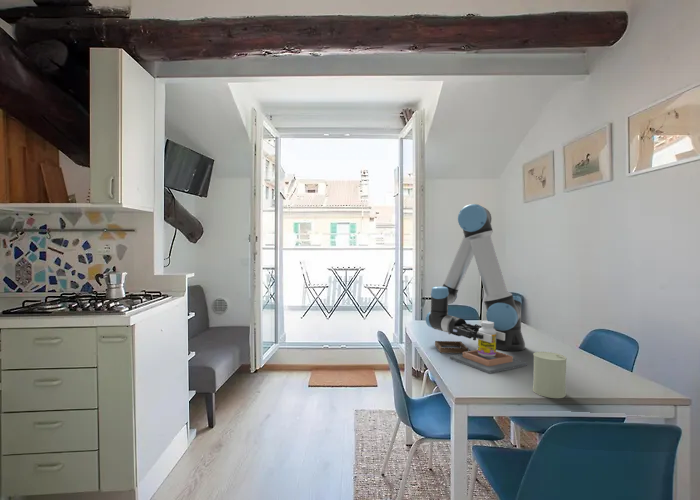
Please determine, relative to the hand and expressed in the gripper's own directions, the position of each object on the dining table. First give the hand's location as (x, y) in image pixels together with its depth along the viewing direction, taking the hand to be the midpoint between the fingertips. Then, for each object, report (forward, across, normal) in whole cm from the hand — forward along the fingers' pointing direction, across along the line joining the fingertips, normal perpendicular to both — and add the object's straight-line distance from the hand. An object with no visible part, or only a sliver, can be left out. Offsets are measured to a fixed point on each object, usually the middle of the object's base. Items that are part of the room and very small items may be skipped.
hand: (497, 337), depth 146 cm
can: (+26, +7, -11) cm, 29 cm away
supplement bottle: (-5, 0, -8) cm, 9 cm away
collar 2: (-5, 0, -10) cm, 12 cm away
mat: (-5, 0, -10) cm, 12 cm away
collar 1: (-25, 0, -11) cm, 27 cm away
